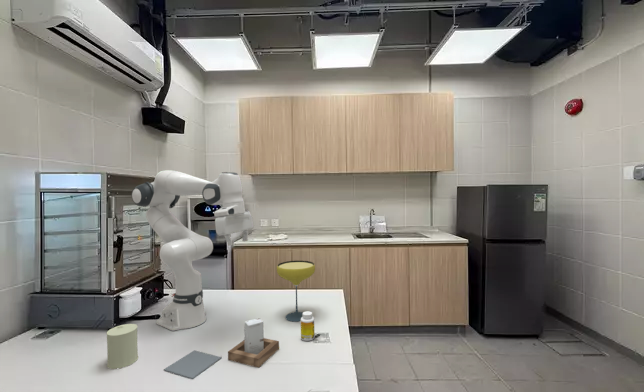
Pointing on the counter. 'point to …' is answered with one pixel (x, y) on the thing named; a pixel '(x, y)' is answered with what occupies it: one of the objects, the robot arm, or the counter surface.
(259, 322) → the skincare box
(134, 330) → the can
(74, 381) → the counter surface
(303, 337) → the supplement bottle
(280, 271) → the cocktail glass
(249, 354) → the walnut collar
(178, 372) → the slate mat
